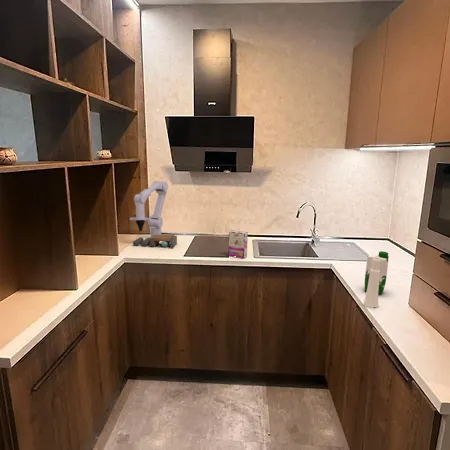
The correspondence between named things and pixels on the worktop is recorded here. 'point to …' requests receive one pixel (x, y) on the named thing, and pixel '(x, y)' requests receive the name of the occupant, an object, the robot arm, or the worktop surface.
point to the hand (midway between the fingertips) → (140, 230)
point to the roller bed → (146, 242)
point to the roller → (165, 243)
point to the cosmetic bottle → (373, 284)
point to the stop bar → (173, 242)
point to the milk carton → (382, 267)
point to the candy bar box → (238, 243)
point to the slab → (161, 237)
